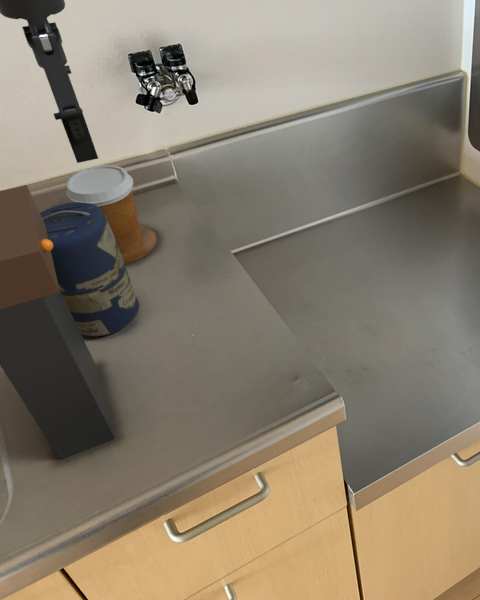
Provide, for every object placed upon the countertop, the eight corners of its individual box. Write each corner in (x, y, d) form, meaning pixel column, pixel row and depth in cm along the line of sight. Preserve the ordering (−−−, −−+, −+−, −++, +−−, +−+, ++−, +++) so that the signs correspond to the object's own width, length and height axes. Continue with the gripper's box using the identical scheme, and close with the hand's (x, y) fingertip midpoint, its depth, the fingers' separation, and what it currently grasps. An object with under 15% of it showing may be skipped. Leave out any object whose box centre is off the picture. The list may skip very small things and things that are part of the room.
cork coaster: (70, 255, 99) (69, 253, 98) (121, 221, 106) (120, 218, 106) (122, 274, 95) (121, 271, 95) (170, 237, 102) (170, 234, 102)
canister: (132, 340, 84) (88, 232, 72) (61, 343, 84) (5, 235, 72) (148, 294, 91) (111, 190, 79) (83, 297, 91) (36, 192, 79)
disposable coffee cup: (144, 259, 97) (121, 194, 89) (82, 262, 96) (54, 197, 88) (157, 225, 104) (137, 162, 96) (100, 228, 103) (75, 164, 96)
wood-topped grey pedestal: (115, 360, 81) (36, 182, 63) (136, 430, 73) (50, 247, 55) (47, 384, 78) (-57, 203, 60) (60, 459, 70) (-57, 275, 52)
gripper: (69, 0, 67) (124, 171, 81) (44, -48, 83) (93, 102, 97) (-8, 9, 64) (63, 185, 78) (-18, -42, 81) (42, 111, 95)
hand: (80, 139), depth 88 cm, fingers open, 13 cm apart
